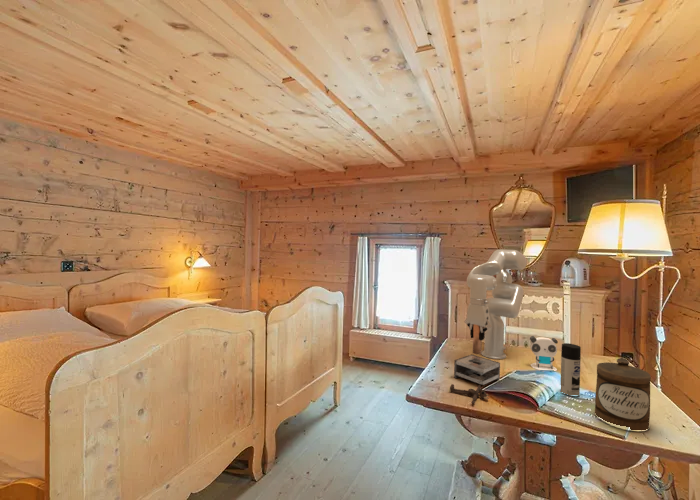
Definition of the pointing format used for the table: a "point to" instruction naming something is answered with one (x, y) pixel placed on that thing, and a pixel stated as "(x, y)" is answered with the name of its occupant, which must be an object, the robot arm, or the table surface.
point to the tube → (476, 339)
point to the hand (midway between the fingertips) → (477, 338)
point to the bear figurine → (470, 393)
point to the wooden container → (623, 394)
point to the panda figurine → (543, 352)
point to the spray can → (570, 369)
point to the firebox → (477, 369)
